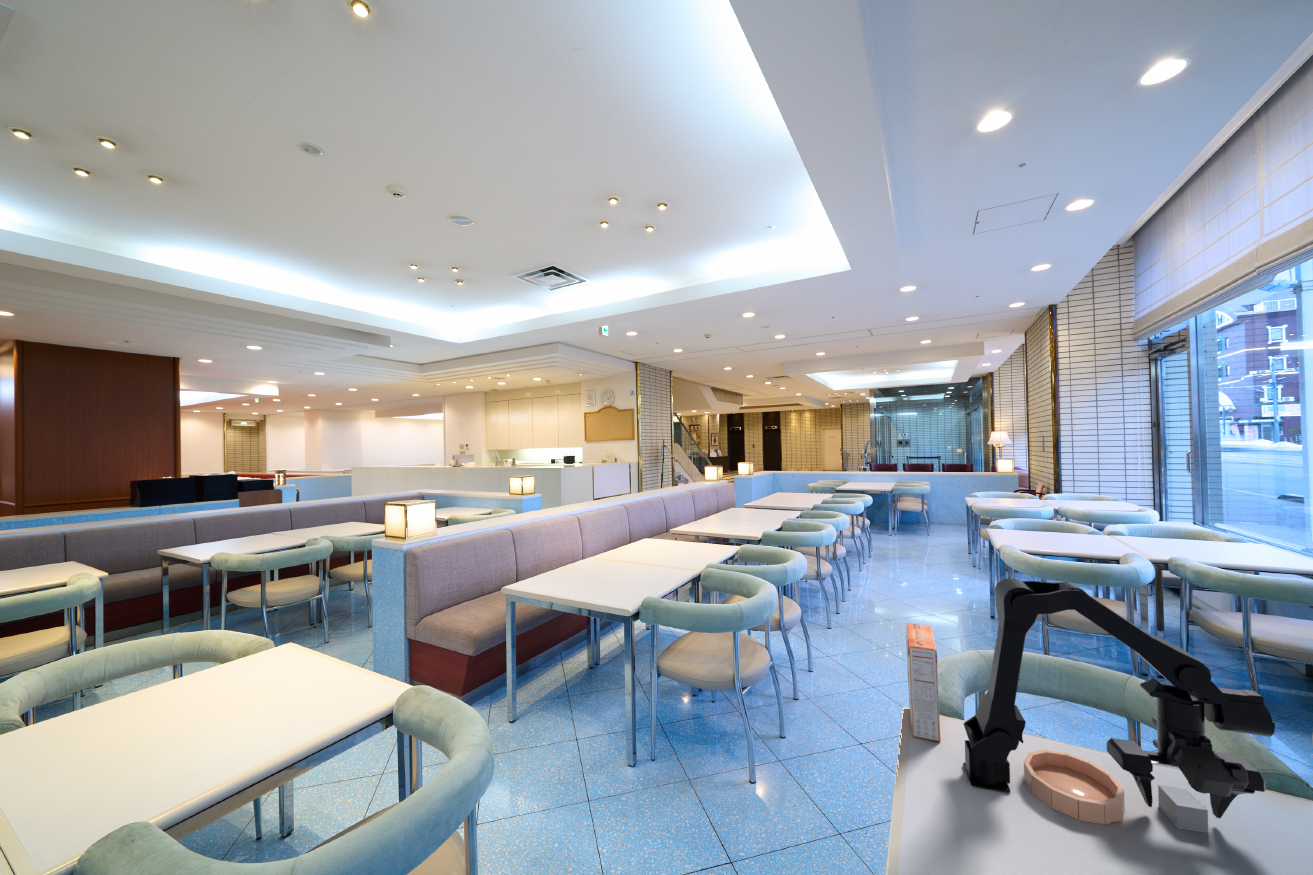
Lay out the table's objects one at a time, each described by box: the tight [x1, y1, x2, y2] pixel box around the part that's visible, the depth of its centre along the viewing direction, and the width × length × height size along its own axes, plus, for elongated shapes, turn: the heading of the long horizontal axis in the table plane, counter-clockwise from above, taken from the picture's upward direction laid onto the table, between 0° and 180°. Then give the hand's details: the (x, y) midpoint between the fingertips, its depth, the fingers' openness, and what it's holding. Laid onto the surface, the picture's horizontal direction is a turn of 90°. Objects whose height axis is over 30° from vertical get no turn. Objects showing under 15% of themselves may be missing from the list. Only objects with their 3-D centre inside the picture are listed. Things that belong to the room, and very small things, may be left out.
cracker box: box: [905, 623, 941, 743], centre depth 115 cm, size 14×6×21 cm, turn 155°
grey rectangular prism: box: [1157, 784, 1209, 834], centre depth 85 cm, size 4×5×4 cm
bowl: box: [1023, 749, 1126, 825], centre depth 92 cm, size 14×14×4 cm
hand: (1182, 810), depth 85 cm, fingers open, 9 cm apart
